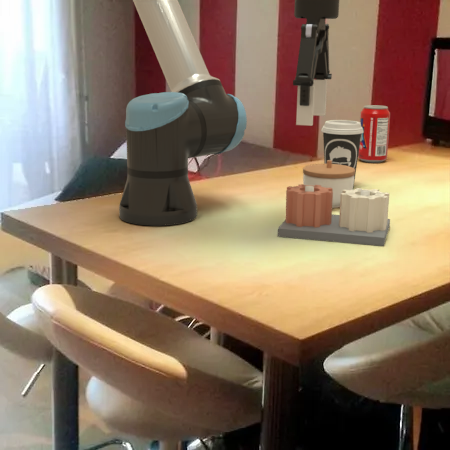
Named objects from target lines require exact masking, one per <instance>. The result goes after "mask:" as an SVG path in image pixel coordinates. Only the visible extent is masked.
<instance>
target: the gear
mask: <svg viewBox="0 0 450 450" xmlns="http://www.w3.org/2000/svg"><path fill="white" fill-rule="evenodd" d="M305 186H313V185H304V184H298V185H296V186H295V185H294V186H291V185H290V186H287V187H286V191H285V193H286V196H285V219H286V220H285V219H284V220H285V222H286V223H293V224H296V226H298V227H302V226H313V227H320V225H325V224H326V225H330V224H331V219H332V214H333V208H332V199H333V192H332V190H333V189H332V188H325V187H321V185H315V186H314V192H308V191H305Z"/></svg>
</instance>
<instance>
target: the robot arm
mask: <svg viewBox="0 0 450 450" xmlns="http://www.w3.org/2000/svg"><path fill="white" fill-rule="evenodd" d="M132 2H133V3H134V6H135V9H136V11H137V13H138V15H139V19H140V20H141V23H142V25H143V28H144V29H145V32H146V35H147V37H148V40H149V42H150V44H151V47H152V49H153V52H154V53H155V56H156V59H157V61H158V63H159V66H160V68H161V70H162V73H163V76H164V78H165V80H166V82H167V83H166V84H167V85H168V87H169V90H170V91H164V92H159V93H157V92H154V93H153V92H152V93H149V94H143V95H139V96H137V97H134V98H132V99H131V100H130V101H129V102H128V103H127V105H126V108H125V120H124V121H125V122H124V126H125V136H126V137H125V138H126V140H125V141H126V164H127V165H126V167H127V169H126V171H127V176H126V182H125V185H124V189H123V193H122V195H121V200H120V202H119V206H118V212H119V219H120V220H122V221H123V222H125V223H129V224H132V225H138V226H139V225H141V226H149V227H150V226H152V227H153V226H154V227H155V226H159V227H160V226H173V225H181V224H184V223H188V222H191V221H193V220H195V219H196V218H197V217H198V203H197V201H196V198H195V195H194V191H193V189H192V186H191V183H190V179H189V159H193V158H198V157H205V156H210V155H211V156H212V155H215V156H216V155H220V154H223V153H226V152H229V151H232V150H234V149H235V148H237V146H239V144H240V143H241V141H242V140H243V138H244V136H245V130H247V126H248V125H247V123H248V119H247V117H248V116H247V111H246V108H245V106H244V104H243V102H242V101H241V100H240V99H239V98H238V97H236V96H234V95H233V94H230V93H226V91H225V89H224V87H223V84H222V82H221V80H220V79H219V78H217V77H214V76H212V75H211V74H210V73H209V70H208V68H207V66H206V63H205V60H204V58H203V56H202V54H201V51H200V49H199V46H198V44H197V43H196V42H197V41H196V40H195V37H194V35H193V34H192V31H191V28H190V25H189V24H188V21H187V19H186V16H185V14H184V12H183V10H182V6H181V5H180V2H179V0H132ZM339 9H340V0H294V11H293V12H294V13H293V16H294V17H295V18H296V19H306V21H305V23H302V24H301V26H300V30H301V31H300V32H301V33H300V42H299V50H298V57H297V65H296V72H295V73H296V74H295V77H294V79H293V80H292V85H293V86H297V97H296V120H295V121H296V122H295V126H310V127H311V126H313V125H314V116H321V117H326V115H327V114H326V113H327V97H328V96H327V95H328V93H327V92H328V80H332V78H333V77H332V76H333V74H332V73H330V72H331V71H330V51H329V50H330V49H329V48H330V47H329V45H330V44H329V42H330V41H329V35H330V34H329V30H330V25H329V23H326V20H329V19H330V20H336V19H337V18H339V12H340V11H339Z"/></svg>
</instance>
